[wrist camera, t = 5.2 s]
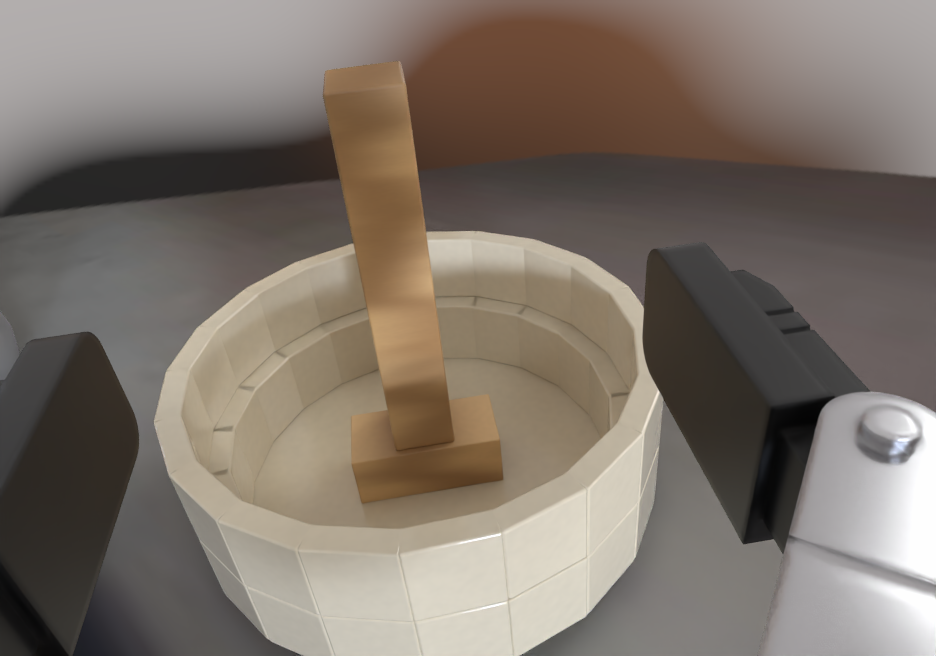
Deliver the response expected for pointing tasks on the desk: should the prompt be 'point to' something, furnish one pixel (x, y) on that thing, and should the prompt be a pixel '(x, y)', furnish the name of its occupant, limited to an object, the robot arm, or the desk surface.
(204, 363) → the bowl
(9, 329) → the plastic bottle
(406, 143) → the wooden t-shaped block
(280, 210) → the desk surface
